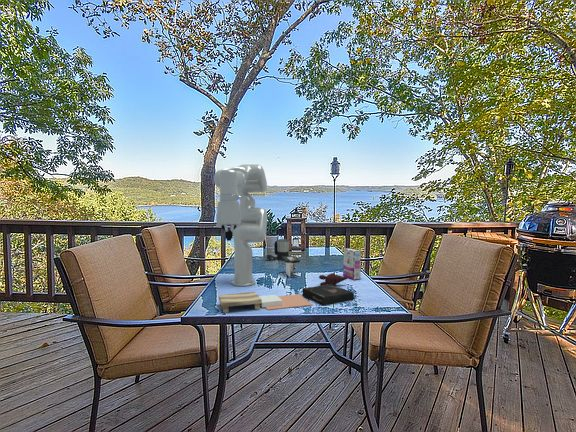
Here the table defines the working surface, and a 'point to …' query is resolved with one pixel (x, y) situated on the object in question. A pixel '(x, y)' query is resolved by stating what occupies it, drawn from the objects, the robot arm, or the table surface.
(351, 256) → the candy bar box
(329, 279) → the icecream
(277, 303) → the coaster
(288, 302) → the mat
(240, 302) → the serving board
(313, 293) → the portable cd player
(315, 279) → the table surface
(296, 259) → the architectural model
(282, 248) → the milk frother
